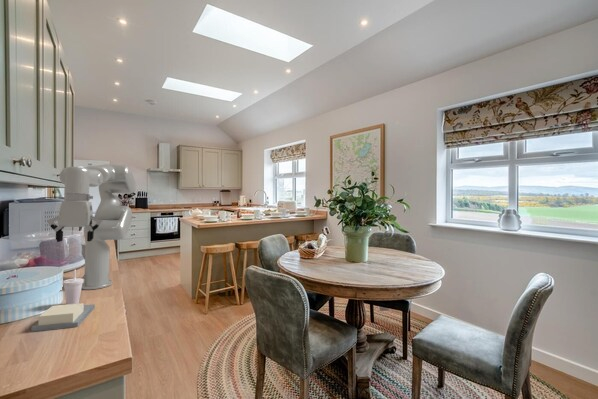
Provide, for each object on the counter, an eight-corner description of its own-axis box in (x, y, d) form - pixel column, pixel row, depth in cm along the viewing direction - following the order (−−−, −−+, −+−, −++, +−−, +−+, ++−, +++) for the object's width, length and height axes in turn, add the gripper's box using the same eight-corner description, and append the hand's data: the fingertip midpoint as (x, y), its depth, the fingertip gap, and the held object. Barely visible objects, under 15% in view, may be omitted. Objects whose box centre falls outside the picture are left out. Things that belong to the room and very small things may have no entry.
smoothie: (70, 308, 104) (72, 272, 104) (57, 306, 105) (58, 270, 105) (87, 302, 110) (88, 268, 110) (74, 300, 111) (75, 266, 111)
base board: (55, 311, 101) (56, 299, 101) (94, 308, 105) (94, 296, 105) (31, 331, 86) (31, 317, 86) (77, 326, 90) (78, 313, 90)
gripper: (105, 199, 114) (103, 239, 114) (54, 197, 108) (52, 240, 107) (99, 199, 107) (97, 242, 107) (44, 197, 101) (42, 243, 100)
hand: (74, 241), depth 107 cm, fingers open, 9 cm apart
